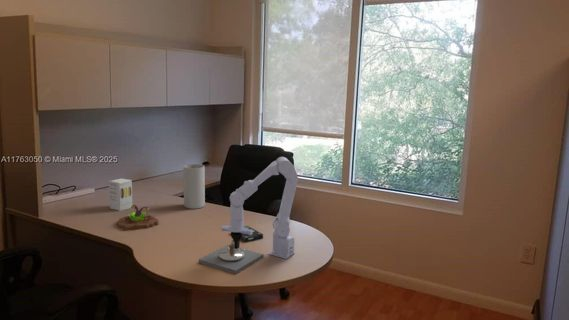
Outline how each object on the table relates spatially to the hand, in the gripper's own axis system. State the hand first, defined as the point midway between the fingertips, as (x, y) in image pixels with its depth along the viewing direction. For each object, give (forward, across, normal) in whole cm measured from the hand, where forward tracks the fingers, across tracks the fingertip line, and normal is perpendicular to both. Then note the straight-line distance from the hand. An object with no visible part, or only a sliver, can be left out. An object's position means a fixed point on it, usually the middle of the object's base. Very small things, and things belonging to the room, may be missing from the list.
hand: (236, 248), depth 195 cm
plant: (+4, +67, -17) cm, 70 cm away
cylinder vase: (+3, +57, -57) cm, 81 cm away
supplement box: (+3, +94, -36) cm, 101 cm away
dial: (+2, +1, +4) cm, 4 cm away
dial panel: (+4, 0, +5) cm, 6 cm away
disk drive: (+4, +7, -25) cm, 26 cm away
